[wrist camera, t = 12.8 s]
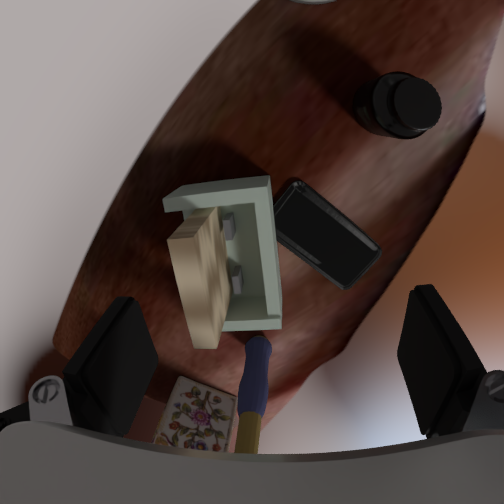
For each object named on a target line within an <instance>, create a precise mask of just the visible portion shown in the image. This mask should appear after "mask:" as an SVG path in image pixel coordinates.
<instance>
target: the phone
mask: <svg viewBox="0 0 504 504" xmlns="http://www.w3.org/2000/svg"><path fill="white" fill-rule="evenodd" d="M273 212H274V222H275V231H276V240H277V241H278V242H279V243H281V244H282V245H283V246H285V247H286V248H287V249H289V250H290V251H291V252H293V253H294V254H295V255H297V256H298V257H299V258H301V259H302V260H303V261H305V262H306V263H307V264H309V265H310V266H311V267H313V268H314V269H315V270H317V271H318V272H319V273H321V274H322V275H323V276H325V277H326V278H327V279H329V280H330V281H331V282H333V283H334V284H335V285H336V286H338V287H339V288H341V289H343V290H347V289H350V288H351V287H352V286H353V285H354V284H355V283H356V282H357V281H358V280H359V279H360V278H361V277H362V276H363V275H364V274H365V273H366V272H367V271H368V270H369V268H370V267H371V266H372V265H373V264H374V263H375V262H376V261H377V260H378V259H379V258H380V256H381V254H382V250H381V248H380V246H379V245H378V244H377V243H376V242H375V241H374V240H373V239H372V238H370V237H369V236H368V235H367V234H366V233H365V232H364V231H362V230H361V229H360V228H359V227H358V226H357V225H356V224H354V223H353V222H352V221H351V220H350V219H349V218H347V217H346V216H345V215H344V214H343V213H341V212H340V211H339V210H338V209H337V208H335V207H334V206H333V205H332V204H331V203H329V202H328V201H327V200H326V199H325V198H323V197H322V196H321V195H320V194H318V193H317V192H316V191H315V190H313V189H312V188H311V187H310V186H308V185H307V184H306V183H305V182H303V181H295V182H293V183H292V184H291V185H290V186H289V187H288V189H287V190H286V191H285V192H284V194H283V195H282V196H281V197H280V199H279V200H278V201H277V202H276V204H275V205H274V206H273Z"/></svg>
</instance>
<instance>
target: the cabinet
mask: <svg viewBox="0 0 504 504" xmlns="http://www.w3.org/2000/svg"><path fill="white" fill-rule="evenodd" d="M163 205H164V210H165V212H173V211H181V210H182V211H183V216H184V221H185V220H186V219H187V218H188V217H189V216H190V214H191V213H192V212H193V211H194V210H195V209H198V208H207V207H216V206H220V208H221V215H222V222H223V228H224V235H225V241H226V248H227V254H228V261H229V267H230V273H231V279H232V285H233V293H232V296H231V300H230V303H229V307H228V311H227V314H226V318H225V321H224V325H223V328H222V331H247V330H269V329H282V291H281V281H280V270H279V259H278V249H277V240H276V231H275V222H274V212H273V200H272V191H271V182H270V175H266V176H256V177H247V178H238V179H229V180H220V181H212V182H205V183H197V184H190V185H183V186H181V187H179V188H178V189H176V190H175V191H173V192H172V193H170V194H169V195H167V196H166V197H165V198H163Z"/></svg>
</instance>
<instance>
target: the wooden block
mask: <svg viewBox="0 0 504 504" xmlns="http://www.w3.org/2000/svg"><path fill="white" fill-rule="evenodd" d="M167 242H168V247H169V251H170V256H171V260H172V264H173V269H174V273H175V277H176V281H177V285H178V289H179V293H180V297H181V301H182V305H183V309H184V313H185V317H186V320H187V324H188V328H189V331H190V335H191V339H192V342H193V346H194V349H217V346H218V342H219V339H220V335H221V332H222V328H223V325H224V321H225V318H226V314H227V311H228V307H229V303H230V300H231V296H232V293H233V285H232V279H231V273H230V267H229V261H228V254H227V248H226V241H225V235H224V228H223V222H222V215H221V208H220V206H216V207H207V208H198V209H195V210H194V211H193V212H192V213H191V214H190V216H189V217H188V218H187V219H186V220H185V221H184V222H183V223H182V224H181V225H180V226H179V227H178V228H177V229H176V231H175V232H174V233H173V234H172V235H171V236H170V237H169V238H168V239H167Z"/></svg>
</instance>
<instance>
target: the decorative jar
mask: <svg viewBox="0 0 504 504" xmlns="http://www.w3.org/2000/svg"><path fill="white" fill-rule="evenodd" d="M237 401H238V399H237V397H235V396H232V395H229V394H227V393H224V392H222V391H219V390H216V389H214V388H211V387H209V386H206V385H203V384H200V383H198V382H195V381H193V380H190V379H188V378H186V377H183V376H179V377H178V379H177V381H176V383H175V386H174V388H173V390H172V392H171V395H170V397H169V399H168V402H167V404H166V406H165V409H164V411H163V413H162V415H161V418H160V419H159V423H158V426H157V429H156V431H155V434H154V437H153V440H152V442H151V443H152V444H158V445H164V446H171V447H178V448H186V449H194V450H203V451H214V452H227V453H228V452H229V447H230V441H231V437H232V432H233V426H234V420H235V415H236V408H237Z"/></svg>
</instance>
